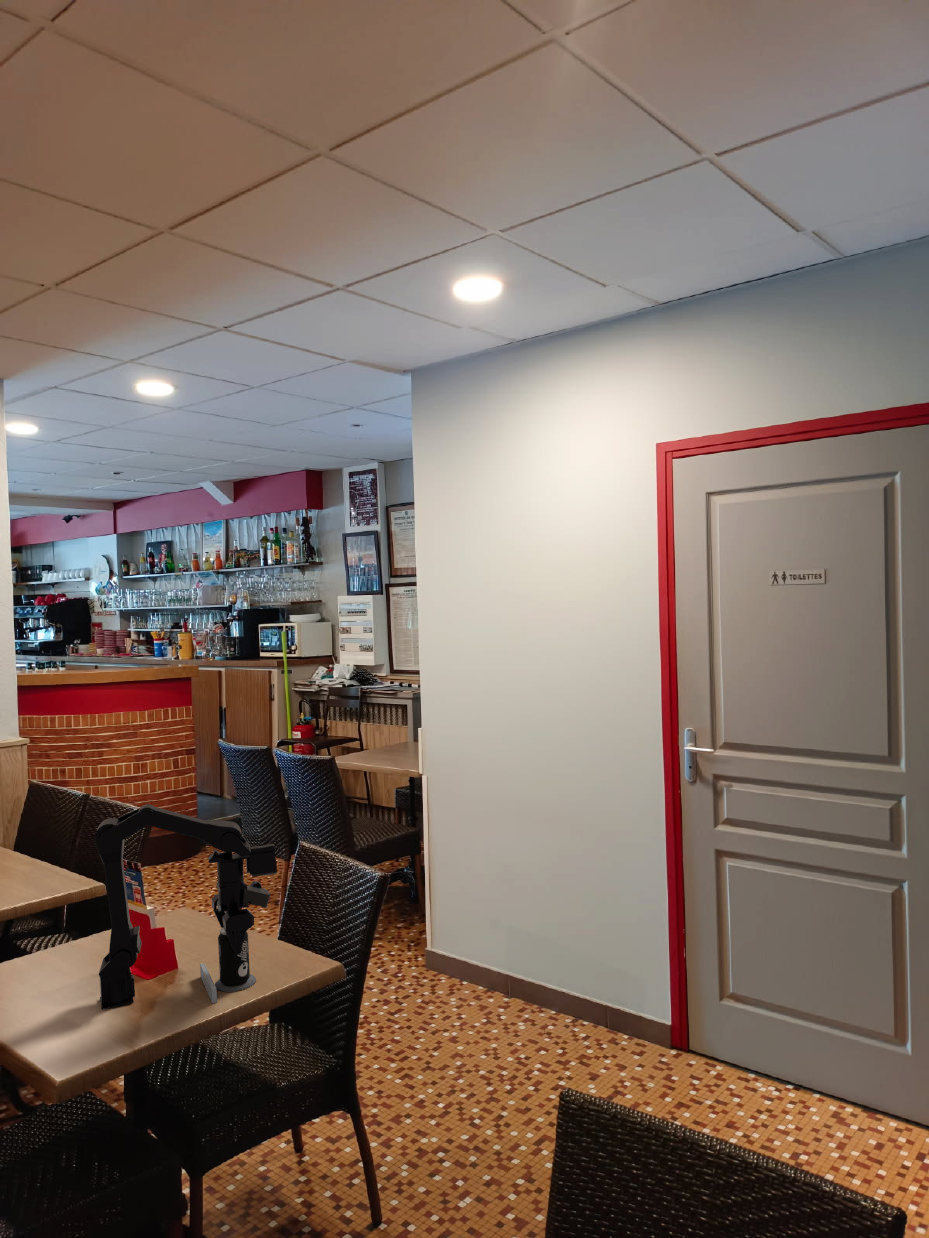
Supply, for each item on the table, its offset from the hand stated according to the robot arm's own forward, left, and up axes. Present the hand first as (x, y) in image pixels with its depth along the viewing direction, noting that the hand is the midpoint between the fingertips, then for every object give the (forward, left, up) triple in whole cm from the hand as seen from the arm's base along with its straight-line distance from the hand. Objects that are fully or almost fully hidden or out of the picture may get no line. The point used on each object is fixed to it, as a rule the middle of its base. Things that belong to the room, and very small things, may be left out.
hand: (233, 947), depth 204 cm
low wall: (-6, 0, -8) cm, 10 cm away
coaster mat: (0, 0, -8) cm, 8 cm away
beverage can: (0, 0, -8) cm, 8 cm away
